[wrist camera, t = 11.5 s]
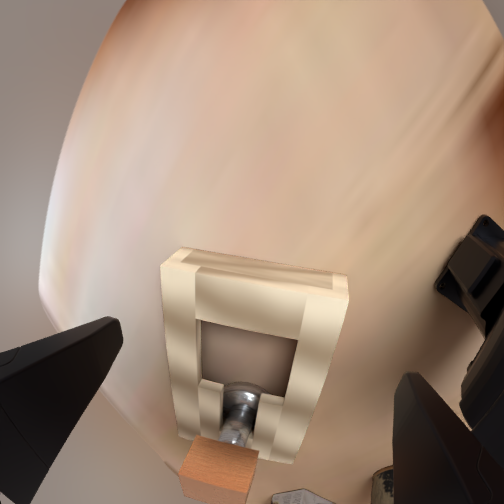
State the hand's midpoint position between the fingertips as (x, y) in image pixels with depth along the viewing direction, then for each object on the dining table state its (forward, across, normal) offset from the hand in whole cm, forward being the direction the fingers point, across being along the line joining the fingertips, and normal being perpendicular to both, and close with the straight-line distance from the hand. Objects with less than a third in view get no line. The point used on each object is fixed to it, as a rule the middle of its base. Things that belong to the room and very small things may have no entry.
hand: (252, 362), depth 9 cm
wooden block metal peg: (+13, +3, +18) cm, 22 cm away
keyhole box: (+13, +2, +13) cm, 18 cm away
